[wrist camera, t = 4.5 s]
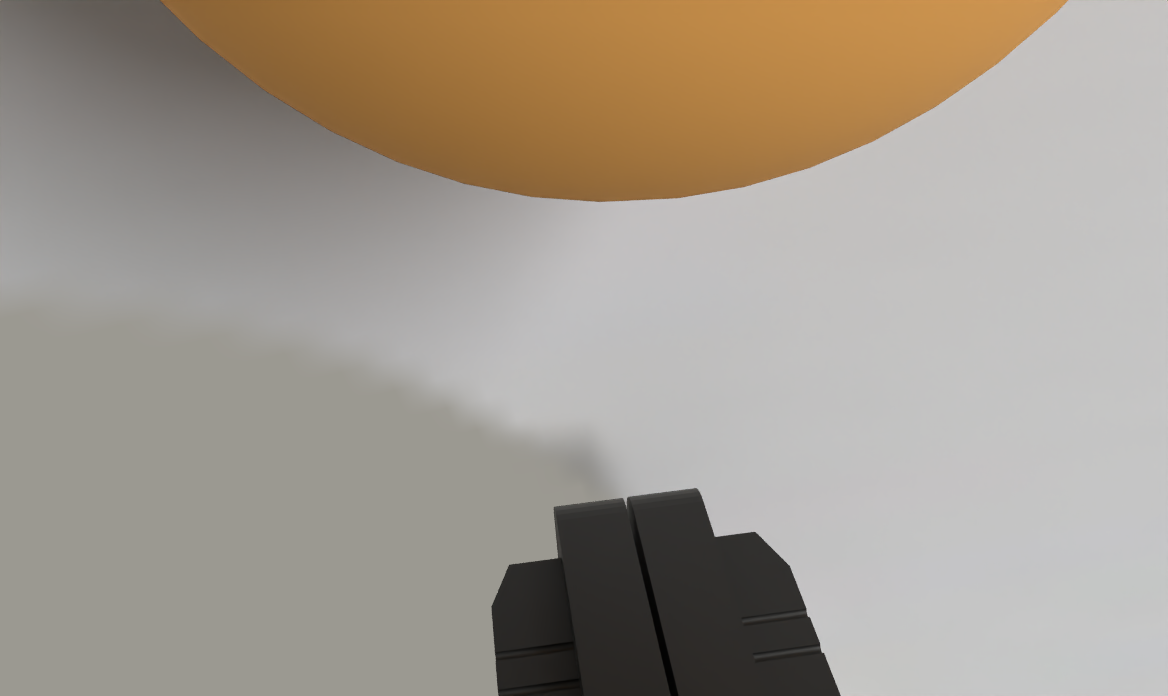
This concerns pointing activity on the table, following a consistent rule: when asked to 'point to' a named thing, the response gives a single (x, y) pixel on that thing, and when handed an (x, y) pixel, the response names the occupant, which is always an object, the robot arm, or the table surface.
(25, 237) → the table surface
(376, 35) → the ball
